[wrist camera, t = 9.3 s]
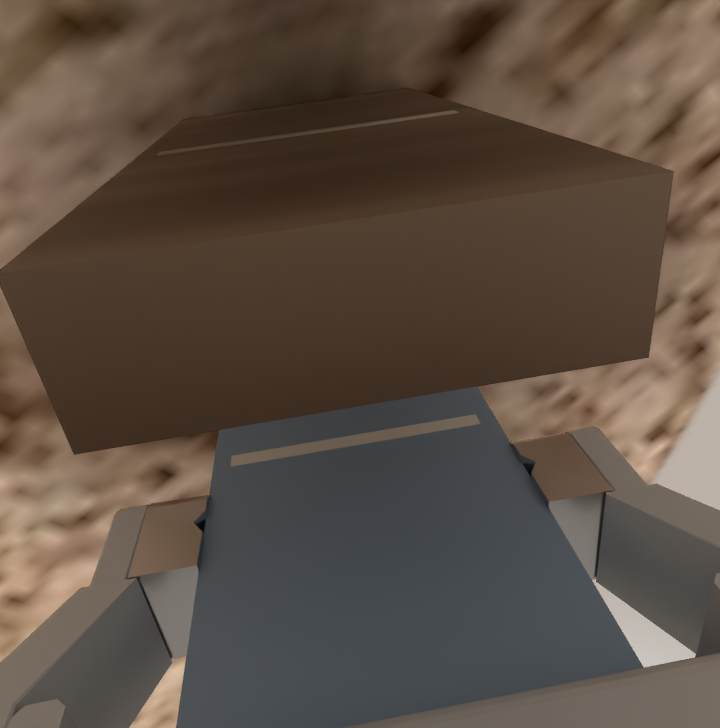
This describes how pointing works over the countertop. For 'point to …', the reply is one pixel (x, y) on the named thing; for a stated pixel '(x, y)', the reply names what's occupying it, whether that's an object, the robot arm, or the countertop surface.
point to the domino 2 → (383, 572)
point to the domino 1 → (335, 267)
